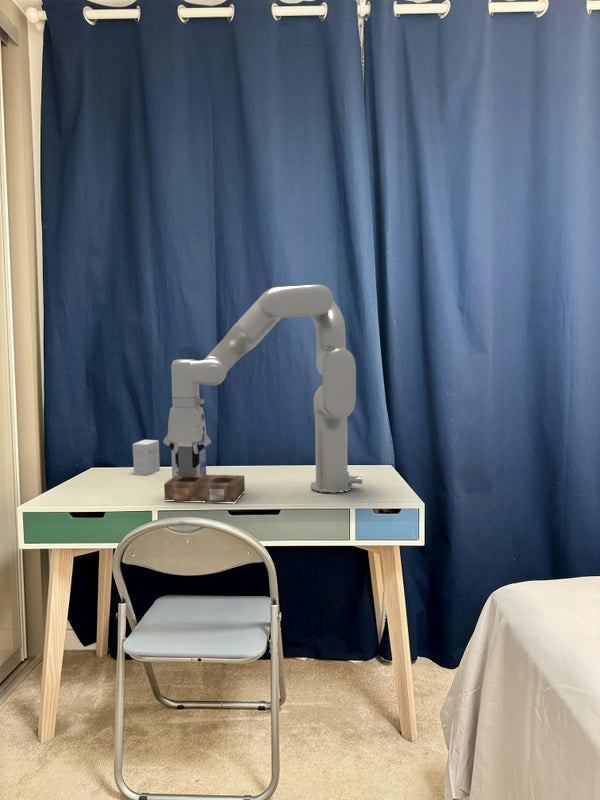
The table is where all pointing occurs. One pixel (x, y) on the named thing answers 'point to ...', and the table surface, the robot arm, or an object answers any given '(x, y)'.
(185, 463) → the plug
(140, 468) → the small box
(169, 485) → the socket block
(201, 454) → the ink cartridge box
